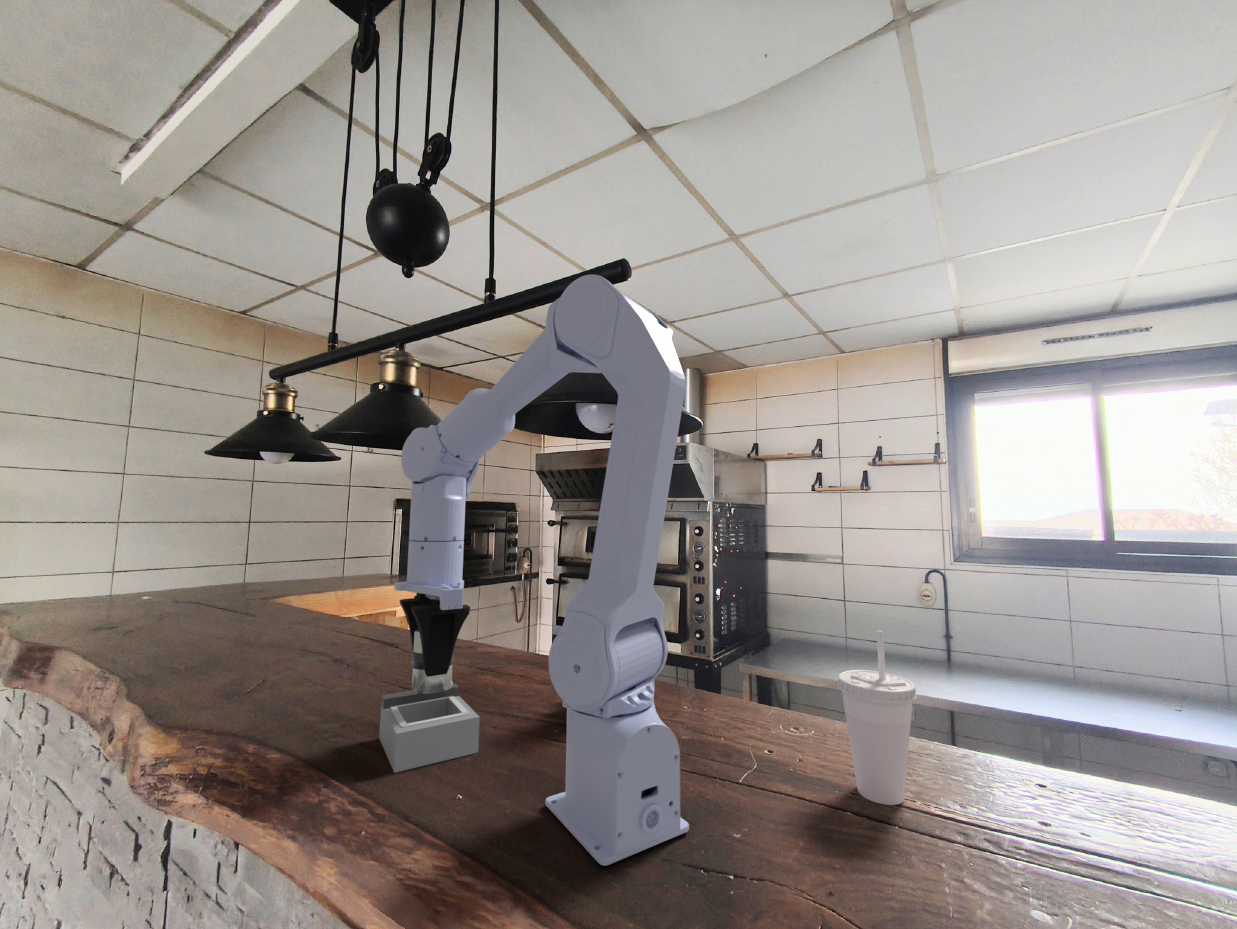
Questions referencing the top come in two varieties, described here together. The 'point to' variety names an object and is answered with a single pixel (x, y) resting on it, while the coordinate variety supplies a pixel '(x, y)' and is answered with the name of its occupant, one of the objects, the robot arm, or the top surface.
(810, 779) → the top surface
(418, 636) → the lens
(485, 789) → the top surface
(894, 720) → the smoothie
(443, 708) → the grey sink basin
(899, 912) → the top surface
